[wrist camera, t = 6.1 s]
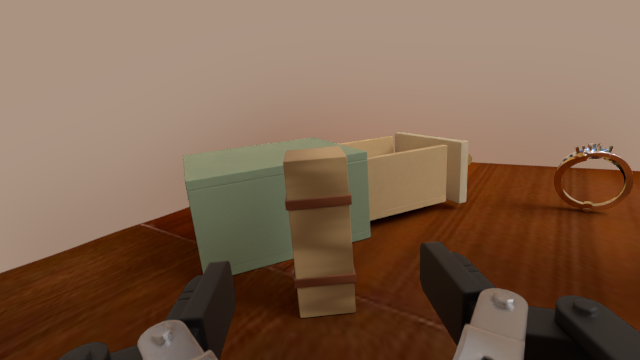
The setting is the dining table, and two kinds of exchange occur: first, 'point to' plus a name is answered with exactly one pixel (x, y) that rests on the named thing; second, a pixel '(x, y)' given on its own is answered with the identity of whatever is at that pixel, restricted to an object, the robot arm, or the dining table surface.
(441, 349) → the dining table surface
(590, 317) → the robot arm
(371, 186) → the drawer
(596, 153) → the ring
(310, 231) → the bundle
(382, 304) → the dining table surface
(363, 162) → the cabinet
